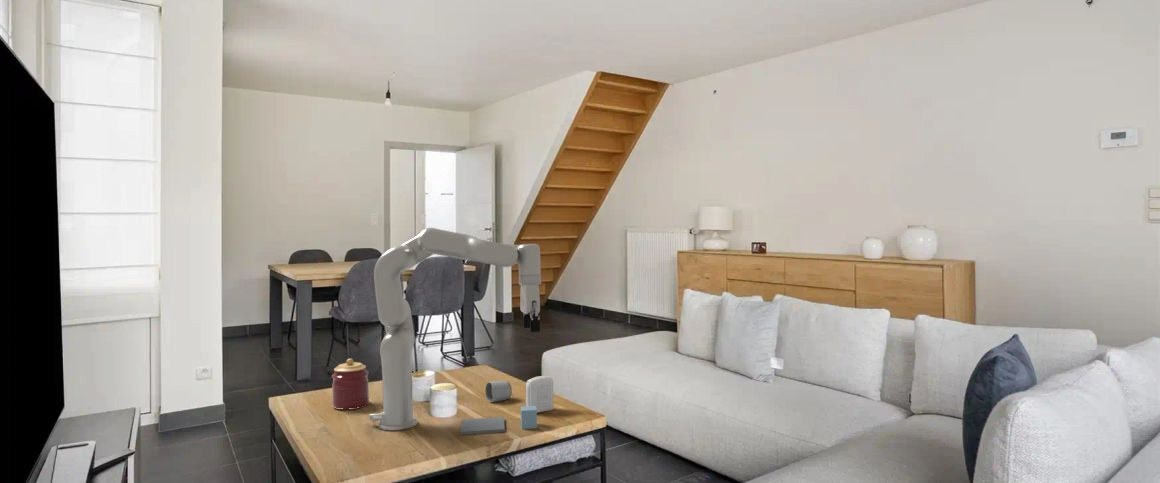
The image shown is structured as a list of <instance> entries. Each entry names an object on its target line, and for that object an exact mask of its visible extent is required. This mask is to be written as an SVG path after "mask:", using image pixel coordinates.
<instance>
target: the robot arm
mask: <svg viewBox="0 0 1160 483" xmlns="http://www.w3.org/2000/svg"><path fill="white" fill-rule="evenodd" d="M433 255H437V256H442V257H443V256H444V257H449V258H454V259H459V260H464V261H468V262H477V263H481V264H487V265H491V266H492V265H493V266H498V267H502V268H509V267H510V268H511V267H512V266H514V265H517V264H518V285H520V292H519V294H520V296H519V297H520V305H519V307H520V311H521V312H522V314H523V315H522V317H523V320H522V321H523V323H522V324H523V328H524V329H530V330H529V331H530V332H531V333H538V332H540V331H541V325H540V324H541V323H540V322H541V321H540V311H541V299H540V298H541V297H540V288H539V287H540V285H541V284H542V274H541V273H542V272H541V268H542V267H541V248H540V246H539V244H537V243H522V244H511V243H501V242H495V241H490V240H485V239H481V238H478V237H475V236H473V235H470V234H466V233H461V232H460V233H459V232H454V231H449V230H445V229H440V228H435V227H426V228H424V229H423V230H422V231H420V232H419V234H418V235H417V236H415V237H413V238H411V239H410V240H407V241H406V242H404V243H402V244H401V245H396V246H393V247H392V248H390V249H387V250H386V251H385V252H384V253H382V254H381V256H380V257H379V258H378V259H377V261H376V262H375V263H376V264H375V265H374V270H373V281H374V282H373V283H374V290H375V291H374V292H375V300H376V307H377V308H376V309H377V316H378V319H379V322H380V323H381V324H382V325H383V326H384V330H385V336H384V337H383V339H382V341H381V343H380V350H379V352H380V359H381V360H380V361H381V376H382V378H381V380H382V408H383V410H382V412H379V413H370V414H369V420H370V421H372V422H378V421H379V422H378V428H379V429H380V430H384V431H402V430H407V429H410V428H413V427H415V426H417V425H418V424H419V420H418V419H419V418H417V417H415V416H414V408H413V406H414V404H413V373H412V372H413V371H412V370H413V367H412V356H411V354H412V353H411V352H412V351H411V350H412V348H413V347H414V345H415V331H414V323H413V315H412V310H411V306H410V303H409V301H407V299H405V298H404V294H403V287H402V281H401V274H402V273H403V272H404V271H407V270H409V269H411V268H413V267H415V266H416V265H418V264H420V263H421V262H423V261H425V260H426V259H428V258H430V257H432V256H433Z"/></svg>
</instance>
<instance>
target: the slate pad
mask: <svg viewBox="0 0 1160 483" xmlns="http://www.w3.org/2000/svg"><path fill="white" fill-rule="evenodd" d="M505 428H506V427H505V417H504V416H495V417H481V418H466V419H464V418H463V419H461V424H460V432H459V433H460V434H459V435H460V436H465V435H477V434H478V435H481V434H493V433H494V434H496V433H497V434H498V433H505V432H506V429H505Z"/></svg>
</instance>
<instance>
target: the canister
mask: <svg viewBox="0 0 1160 483" xmlns="http://www.w3.org/2000/svg"><path fill="white" fill-rule="evenodd" d="M366 368H367V366H366V365H365V364H363V363H362V362H356V361H354V359H353V358H348V359H346V362H344V363H340V364H338V365H337V366H336V367H334V369H333V370H334V373H333V374H332V375H331V378H332V379H333V380H332V381H333V382H332V384H331V386H332V401H331V402H332V404H331V405H332V406H334V407H336V408H343V409H349V408H357V407H361V408H363V407H362V406H364V407H366V406H368V405H369V404H368V403H369V402H370V396H369V392H370V391H369V380H368V375H369V373H370V372H369V371H368V370H366ZM367 404H368V405H367ZM365 405H366V406H365ZM334 407H333V408H334ZM357 409H358V408H357Z"/></svg>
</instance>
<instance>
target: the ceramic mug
mask: <svg viewBox="0 0 1160 483" xmlns="http://www.w3.org/2000/svg"><path fill="white" fill-rule="evenodd" d="M484 391H485V397H486V400H487V401H488V402H489V403H496V402H501V401H506V400H509V399H511V396H512V394H513V393H512V392H513V390H512V385H511V384H510V382H509V381H507V380H494V381H493V380H491V381H488V382H487V383H486V384H485V389H484Z"/></svg>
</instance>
